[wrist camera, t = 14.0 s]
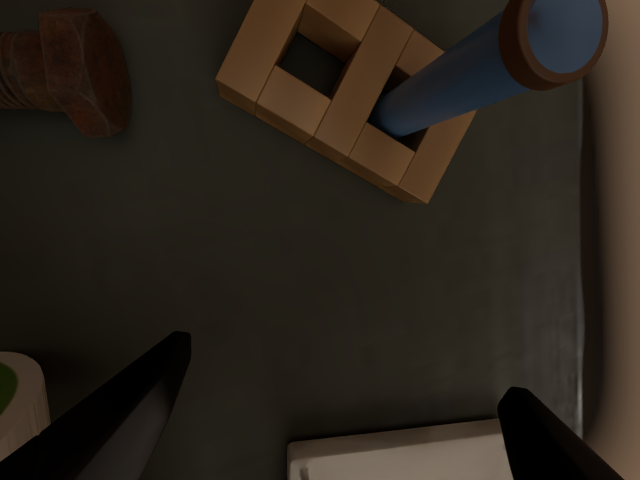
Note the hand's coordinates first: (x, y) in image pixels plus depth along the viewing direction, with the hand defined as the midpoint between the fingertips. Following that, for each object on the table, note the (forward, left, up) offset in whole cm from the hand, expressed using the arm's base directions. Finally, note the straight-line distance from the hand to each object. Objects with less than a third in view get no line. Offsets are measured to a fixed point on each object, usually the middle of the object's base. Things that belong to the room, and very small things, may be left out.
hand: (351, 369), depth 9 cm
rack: (+9, -7, -13) cm, 17 cm away
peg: (+7, -9, -13) cm, 17 cm away
